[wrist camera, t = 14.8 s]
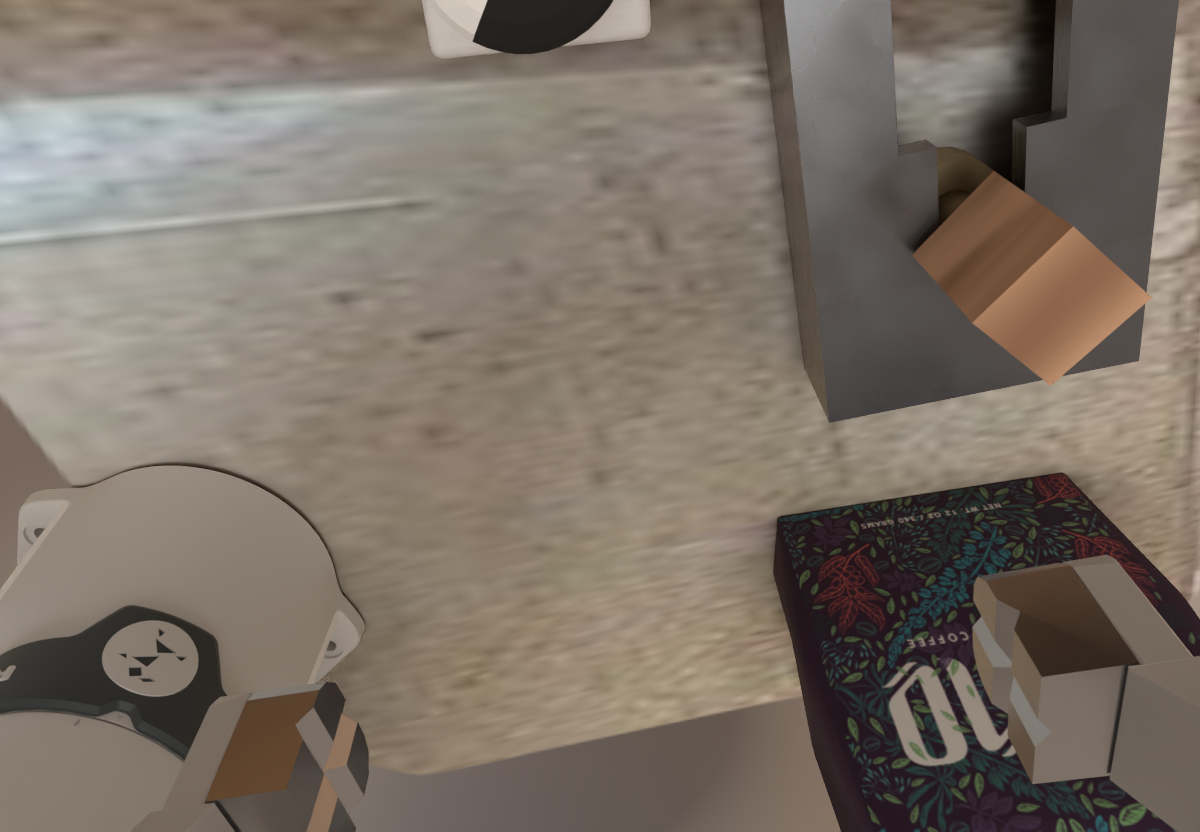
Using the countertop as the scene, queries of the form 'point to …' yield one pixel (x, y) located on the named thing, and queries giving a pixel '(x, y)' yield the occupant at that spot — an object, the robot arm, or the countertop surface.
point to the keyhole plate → (910, 192)
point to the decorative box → (940, 655)
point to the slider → (1022, 269)
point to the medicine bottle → (530, 24)
